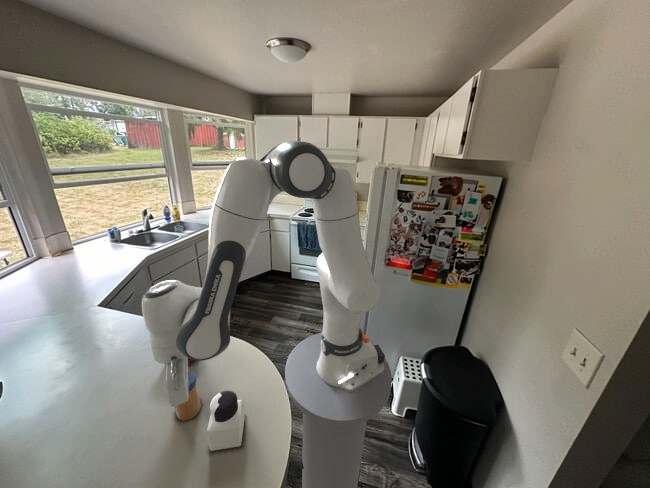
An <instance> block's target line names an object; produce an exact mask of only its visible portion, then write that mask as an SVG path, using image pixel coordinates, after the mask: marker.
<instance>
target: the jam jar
mask: <svg viewBox="0 0 650 488" xmlns="http://www.w3.org/2000/svg"><path fill="white" fill-rule="evenodd" d="M198 389H199V388H198V384H197V383H196V385H195V387H194V388H193V389H192V390H191V391H190V392H189V399H188V401H186V402H184V403H182V404H180V405H177V406H174V409H175V414H176V417H177V419H179V420H180V421H188V420H191V419H193V418H194V417H196V416H197V415H198V413H200V410H201V407H202V404H201V399H200V395H199V390H198Z"/></svg>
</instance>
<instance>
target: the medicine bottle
mask: <svg viewBox="0 0 650 488" xmlns="http://www.w3.org/2000/svg"><path fill="white" fill-rule="evenodd" d="M209 410H210V416H209V420H208V424H207V429H206V437H207V441H208V446H209V450H210V451H211V452H213V451H219V450H227V449H232V448H238V447H241V446H242V441H243V435H244V434H243V433H244V426H245V409H244V401H243V399H238V395H237V394H236V393H235V391H232V390H223V391H220V392H219V393H217V394H216V395H215V396H213V398H212V399H211V401H210V404H209Z"/></svg>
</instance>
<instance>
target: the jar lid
mask: <svg viewBox="0 0 650 488" xmlns="http://www.w3.org/2000/svg"><path fill="white" fill-rule="evenodd" d="M196 384H197V376H196V373H195V372H194V371H192V370H188V385H189V392H190V391H191V390H192V389H193V388H194V387H195V385H196Z"/></svg>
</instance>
